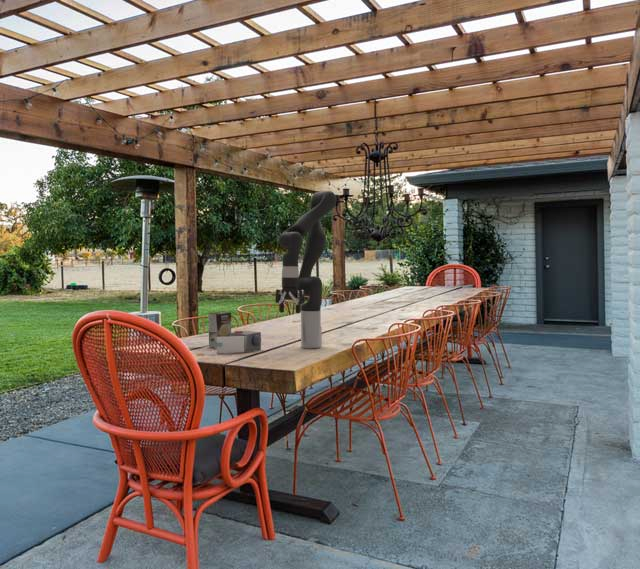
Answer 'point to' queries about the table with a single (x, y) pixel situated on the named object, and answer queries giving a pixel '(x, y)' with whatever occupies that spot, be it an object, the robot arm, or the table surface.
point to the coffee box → (219, 326)
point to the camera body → (249, 339)
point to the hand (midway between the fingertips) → (289, 312)
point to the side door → (231, 344)
